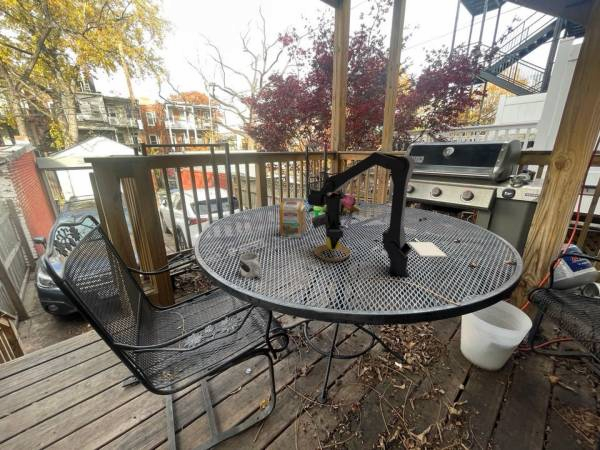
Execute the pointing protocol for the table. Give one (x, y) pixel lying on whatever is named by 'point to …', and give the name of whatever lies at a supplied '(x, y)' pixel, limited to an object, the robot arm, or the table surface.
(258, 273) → the mug
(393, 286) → the table surface
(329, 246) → the lemon
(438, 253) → the placemat
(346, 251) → the plant saucer
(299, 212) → the plastic snack jar
